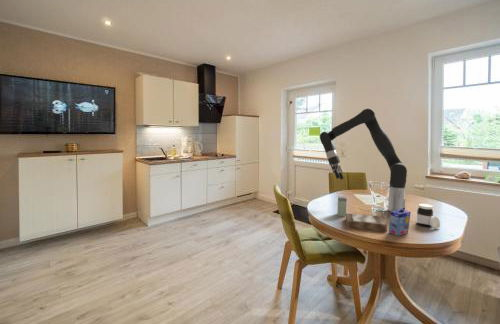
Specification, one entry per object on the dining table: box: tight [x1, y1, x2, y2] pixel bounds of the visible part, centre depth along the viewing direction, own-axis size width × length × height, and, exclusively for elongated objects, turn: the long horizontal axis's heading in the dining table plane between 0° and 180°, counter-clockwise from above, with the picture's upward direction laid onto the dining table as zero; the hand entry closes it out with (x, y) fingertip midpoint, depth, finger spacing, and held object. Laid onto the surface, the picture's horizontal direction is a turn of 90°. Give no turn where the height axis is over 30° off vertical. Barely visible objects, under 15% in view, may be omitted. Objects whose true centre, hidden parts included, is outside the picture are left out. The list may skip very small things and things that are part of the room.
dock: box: [345, 212, 388, 232], centre depth 147 cm, size 20×14×4 cm
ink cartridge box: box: [388, 206, 411, 237], centre depth 135 cm, size 10×6×14 cm, turn 117°
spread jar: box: [416, 203, 441, 230], centre depth 145 cm, size 12×11×12 cm
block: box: [336, 196, 348, 217], centre depth 164 cm, size 5×4×12 cm
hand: (340, 178), depth 176 cm, fingers open, 8 cm apart
